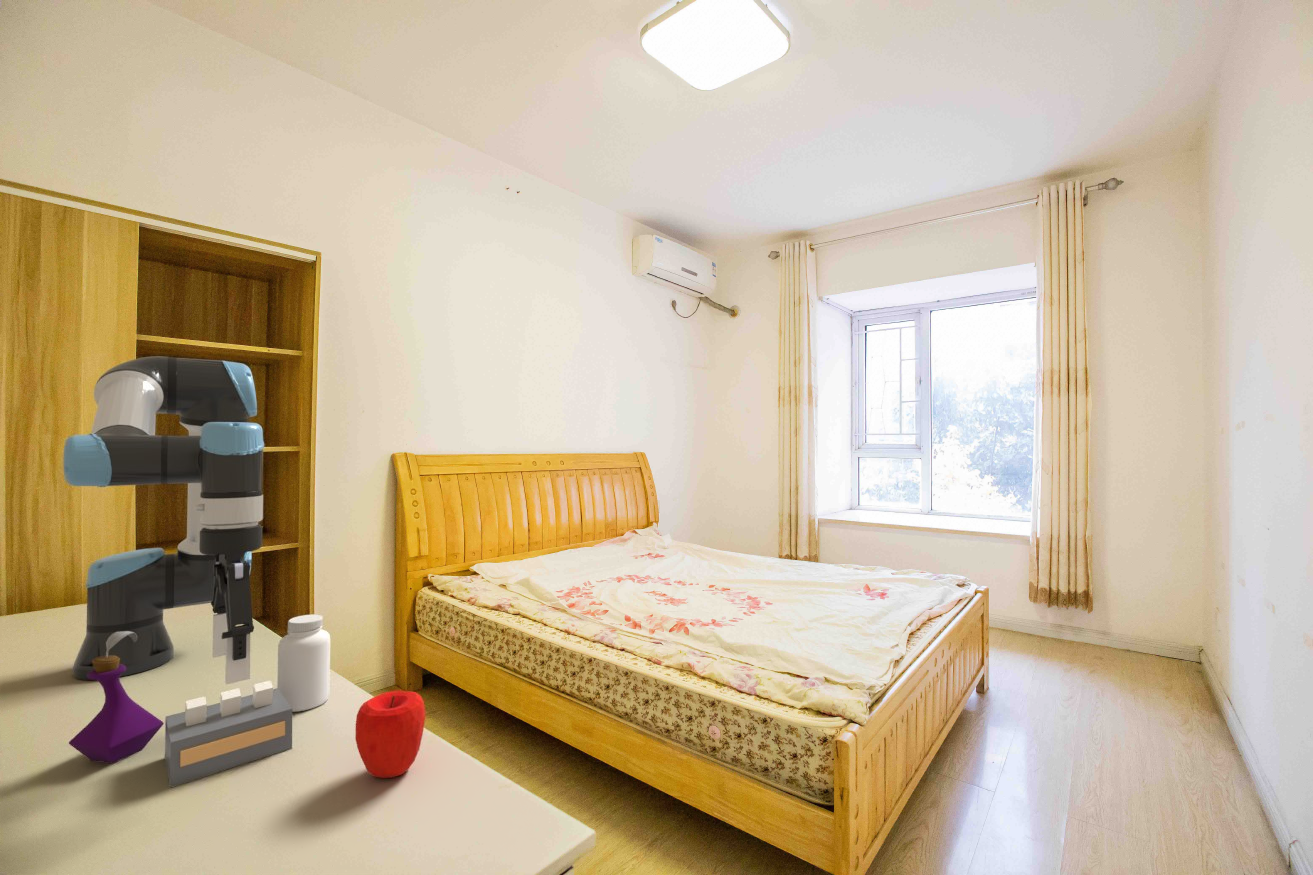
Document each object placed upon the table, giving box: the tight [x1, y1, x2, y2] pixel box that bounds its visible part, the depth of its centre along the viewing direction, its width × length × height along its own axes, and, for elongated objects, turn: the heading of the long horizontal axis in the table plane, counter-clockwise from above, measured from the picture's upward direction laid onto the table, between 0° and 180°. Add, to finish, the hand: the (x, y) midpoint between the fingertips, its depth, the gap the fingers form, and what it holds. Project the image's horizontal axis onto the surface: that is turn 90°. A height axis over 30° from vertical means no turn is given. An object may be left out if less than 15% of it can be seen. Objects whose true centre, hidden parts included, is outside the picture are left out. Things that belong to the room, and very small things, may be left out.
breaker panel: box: [164, 687, 293, 788], centre depth 84 cm, size 10×14×6 cm
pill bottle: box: [276, 614, 331, 713], centre depth 100 cm, size 8×8×15 cm
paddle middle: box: [219, 687, 242, 717], centre depth 84 cm, size 2×2×3 cm
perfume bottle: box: [68, 631, 165, 764], centre depth 84 cm, size 8×8×18 cm
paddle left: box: [184, 696, 208, 727], centre depth 81 cm, size 2×2×3 cm
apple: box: [355, 690, 427, 779], centre depth 79 cm, size 9×9×11 cm
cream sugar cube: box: [252, 680, 274, 708], centre depth 87 cm, size 2×2×3 cm
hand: (230, 667), depth 84 cm, fingers open, 13 cm apart
